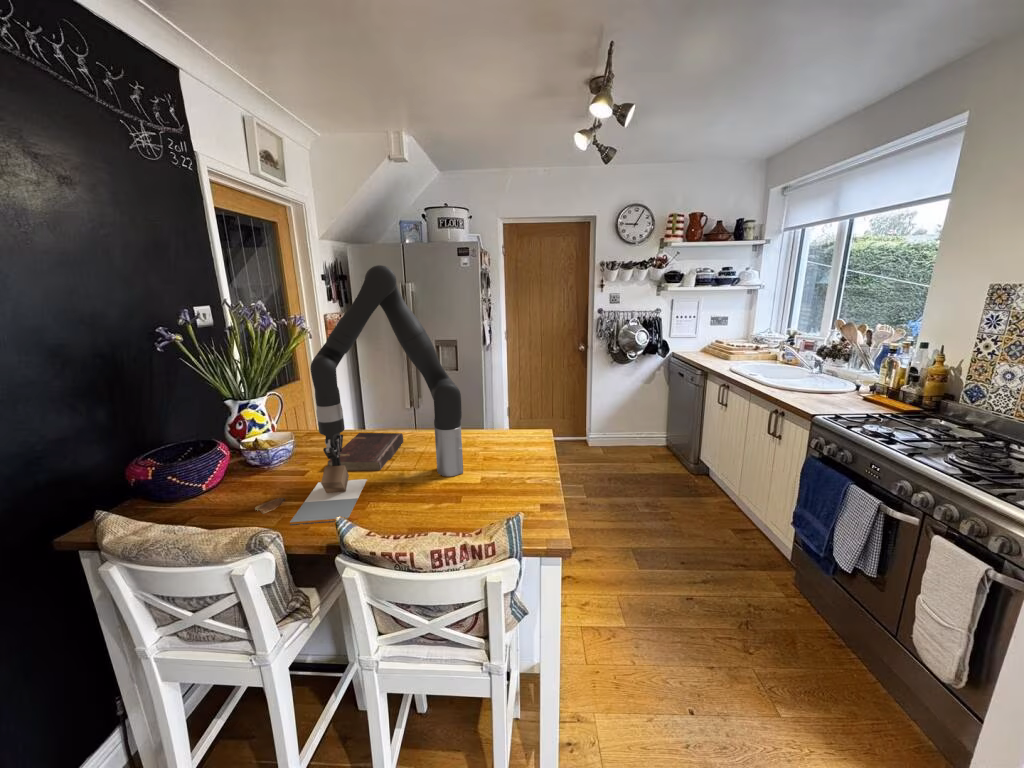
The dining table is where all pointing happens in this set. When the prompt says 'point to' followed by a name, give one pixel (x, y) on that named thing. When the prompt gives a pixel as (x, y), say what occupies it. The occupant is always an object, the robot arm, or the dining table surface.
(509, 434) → the dining table surface
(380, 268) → the robot arm
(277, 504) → the shard
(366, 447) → the hardback book
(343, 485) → the walnut cube
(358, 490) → the board
